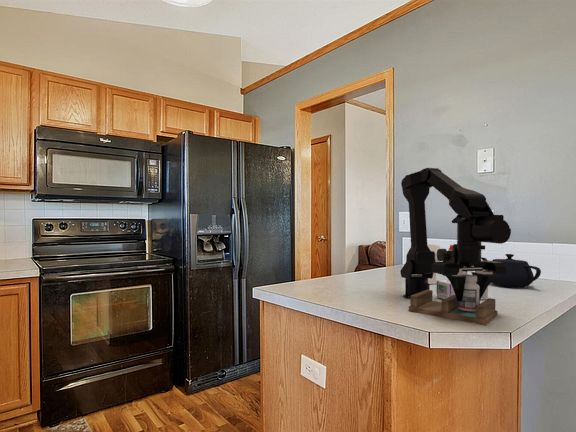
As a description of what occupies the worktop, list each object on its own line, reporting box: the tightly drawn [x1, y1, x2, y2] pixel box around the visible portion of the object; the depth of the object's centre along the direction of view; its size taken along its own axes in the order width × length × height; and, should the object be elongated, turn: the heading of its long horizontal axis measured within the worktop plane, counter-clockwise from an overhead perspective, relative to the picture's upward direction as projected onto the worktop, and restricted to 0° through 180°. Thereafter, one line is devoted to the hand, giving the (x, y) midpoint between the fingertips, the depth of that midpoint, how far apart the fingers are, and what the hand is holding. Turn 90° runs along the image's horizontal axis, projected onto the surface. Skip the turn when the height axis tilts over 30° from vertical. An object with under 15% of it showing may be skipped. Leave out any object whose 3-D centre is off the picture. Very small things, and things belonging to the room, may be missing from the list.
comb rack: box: [408, 289, 498, 326], centre depth 96 cm, size 19×12×4 cm, turn 48°
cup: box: [416, 243, 441, 285], centre depth 144 cm, size 11×11×15 cm
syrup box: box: [435, 279, 489, 301], centre depth 114 cm, size 6×6×14 cm
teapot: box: [481, 253, 542, 289], centre depth 140 cm, size 25×16×12 cm, turn 21°
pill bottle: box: [457, 273, 481, 312], centre depth 94 cm, size 5×5×9 cm
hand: (468, 300), depth 93 cm, fingers closed on pill bottle, 5 cm apart
